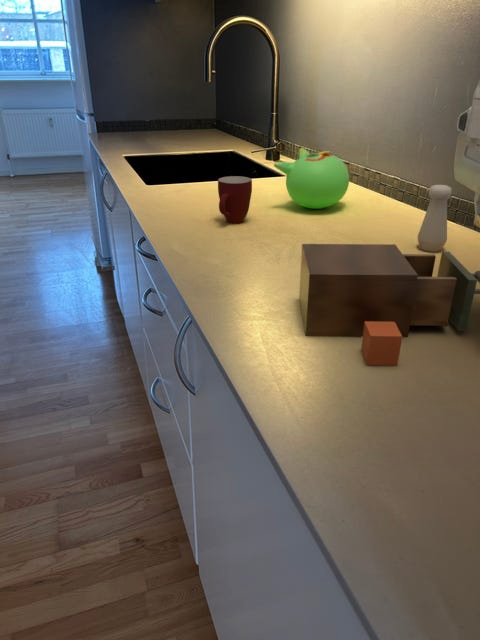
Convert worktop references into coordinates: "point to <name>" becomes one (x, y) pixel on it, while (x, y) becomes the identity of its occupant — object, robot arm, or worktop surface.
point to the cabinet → (354, 288)
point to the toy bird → (315, 179)
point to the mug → (234, 197)
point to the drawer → (442, 291)
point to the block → (381, 343)
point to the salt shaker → (435, 220)
